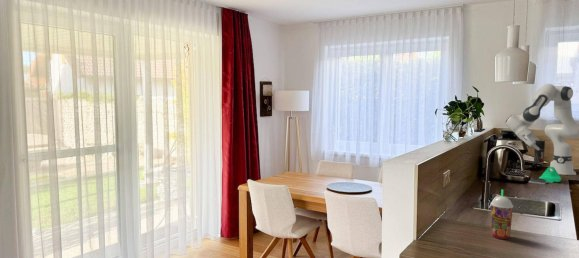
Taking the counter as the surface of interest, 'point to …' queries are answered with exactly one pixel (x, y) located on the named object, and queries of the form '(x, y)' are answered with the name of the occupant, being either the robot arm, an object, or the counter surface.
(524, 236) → the counter surface
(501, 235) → the smoothie
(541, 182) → the mount plate
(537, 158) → the deodorant
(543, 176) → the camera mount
